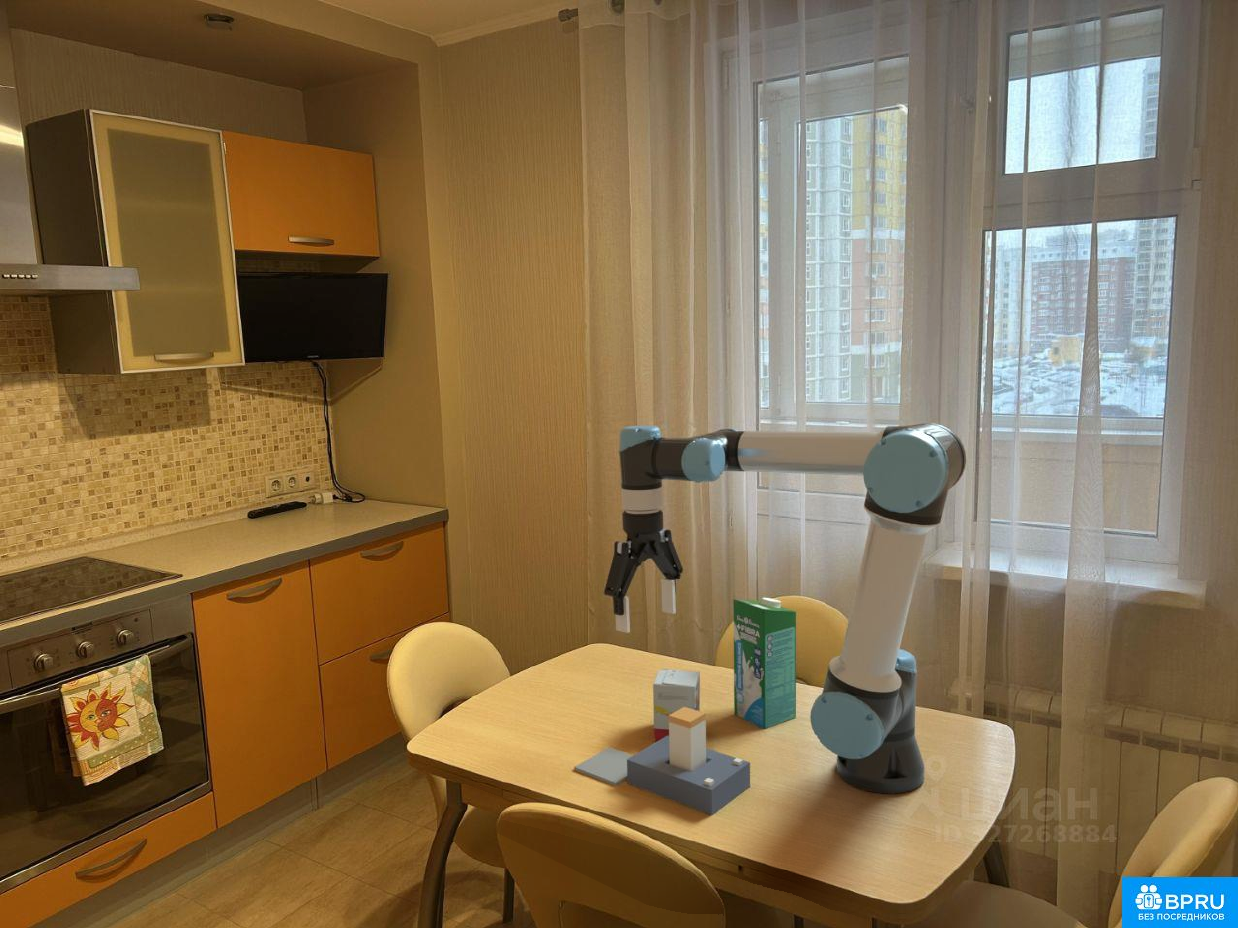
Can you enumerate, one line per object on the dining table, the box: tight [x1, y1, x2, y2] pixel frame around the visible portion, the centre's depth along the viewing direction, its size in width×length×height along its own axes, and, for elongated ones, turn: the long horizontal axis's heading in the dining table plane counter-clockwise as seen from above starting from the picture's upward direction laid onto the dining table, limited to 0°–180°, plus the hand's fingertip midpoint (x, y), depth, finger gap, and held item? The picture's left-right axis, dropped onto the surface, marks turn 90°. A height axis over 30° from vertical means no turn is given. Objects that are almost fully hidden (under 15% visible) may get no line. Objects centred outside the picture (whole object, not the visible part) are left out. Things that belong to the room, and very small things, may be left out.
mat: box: [573, 746, 634, 787], centre depth 169 cm, size 10×10×1 cm
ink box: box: [652, 668, 701, 742], centre depth 182 cm, size 9×9×12 cm
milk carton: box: [732, 597, 797, 730], centre depth 187 cm, size 9×9×25 cm
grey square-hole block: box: [626, 736, 751, 816], centre depth 161 cm, size 18×12×5 cm, turn 50°
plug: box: [669, 707, 707, 772], centre depth 160 cm, size 5×5×13 cm
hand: (646, 621), depth 171 cm, fingers open, 13 cm apart
